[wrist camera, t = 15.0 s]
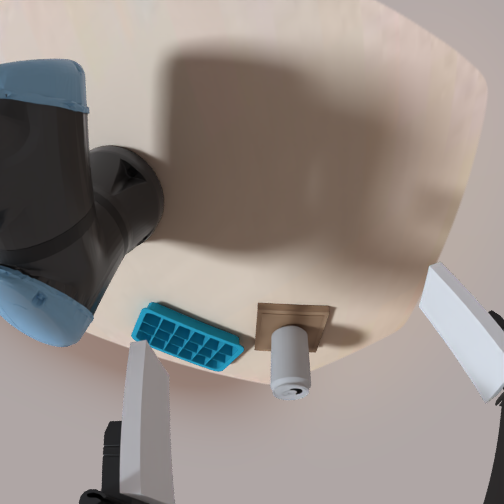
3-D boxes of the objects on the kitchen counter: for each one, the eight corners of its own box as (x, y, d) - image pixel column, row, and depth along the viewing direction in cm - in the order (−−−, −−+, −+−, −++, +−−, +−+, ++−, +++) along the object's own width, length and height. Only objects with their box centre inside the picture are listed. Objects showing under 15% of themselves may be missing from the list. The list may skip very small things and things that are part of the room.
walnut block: (254, 343, 57) (254, 350, 56) (258, 302, 50) (257, 310, 48) (315, 346, 57) (315, 352, 56) (328, 305, 50) (329, 313, 48)
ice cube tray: (147, 294, 51) (143, 306, 48) (247, 335, 56) (246, 348, 54) (134, 326, 57) (130, 338, 55) (221, 361, 62) (220, 372, 60)
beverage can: (312, 337, 52) (317, 396, 43) (280, 347, 55) (281, 404, 45) (298, 318, 49) (302, 381, 40) (264, 329, 51) (262, 390, 42)
